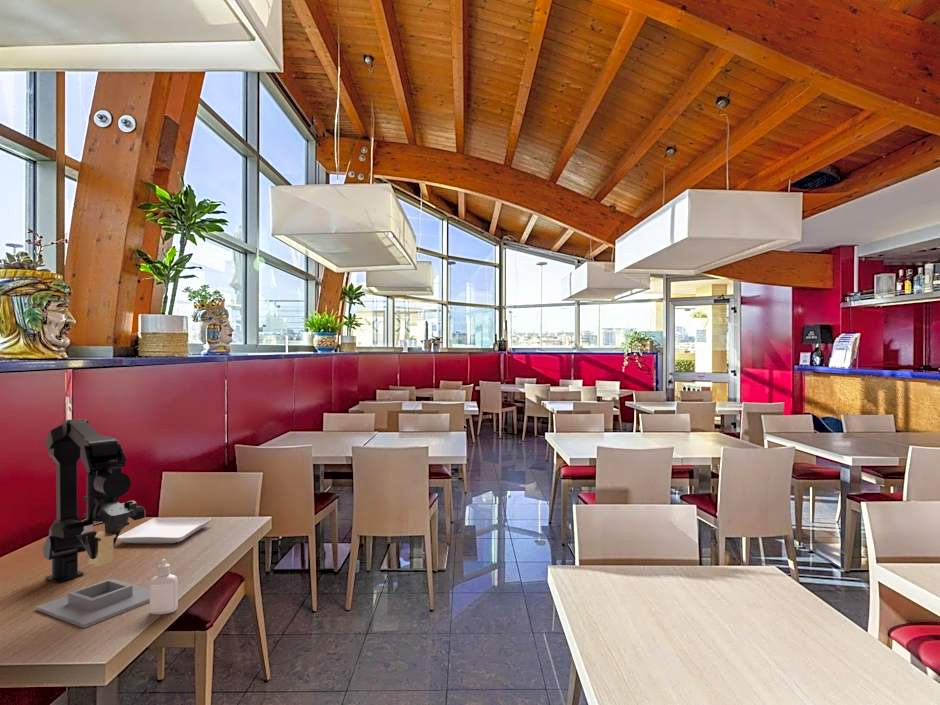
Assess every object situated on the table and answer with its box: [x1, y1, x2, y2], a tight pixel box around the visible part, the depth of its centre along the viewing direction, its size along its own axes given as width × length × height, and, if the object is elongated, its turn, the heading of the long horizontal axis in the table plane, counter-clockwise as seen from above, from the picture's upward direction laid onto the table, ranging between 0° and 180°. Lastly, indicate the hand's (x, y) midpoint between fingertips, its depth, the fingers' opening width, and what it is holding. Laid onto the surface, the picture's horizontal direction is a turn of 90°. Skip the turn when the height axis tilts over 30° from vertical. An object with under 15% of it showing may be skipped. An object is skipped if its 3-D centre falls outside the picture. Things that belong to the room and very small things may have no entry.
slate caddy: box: [35, 578, 150, 629], centre depth 133 cm, size 20×18×3 cm
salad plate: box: [117, 517, 212, 544], centre depth 184 cm, size 21×21×3 cm
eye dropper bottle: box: [149, 558, 179, 615], centre depth 128 cm, size 4×6×12 cm
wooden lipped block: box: [88, 530, 116, 567], centre depth 133 cm, size 6×4×7 cm, turn 63°
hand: (100, 556), depth 133 cm, fingers closed on wooden lipped block, 3 cm apart
